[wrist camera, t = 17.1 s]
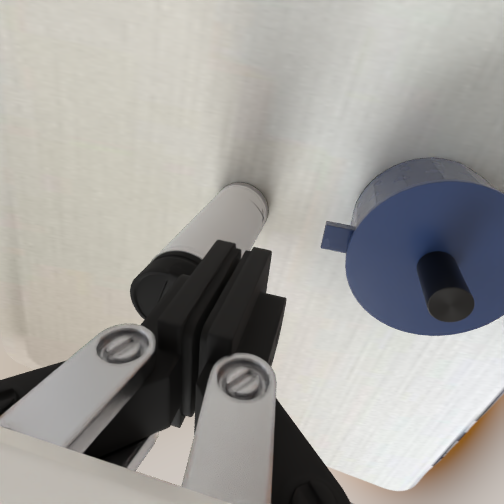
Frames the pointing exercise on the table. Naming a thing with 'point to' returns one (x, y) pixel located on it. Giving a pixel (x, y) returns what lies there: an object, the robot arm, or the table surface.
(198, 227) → the travel mug
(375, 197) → the pot
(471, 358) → the table surface
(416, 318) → the lid
